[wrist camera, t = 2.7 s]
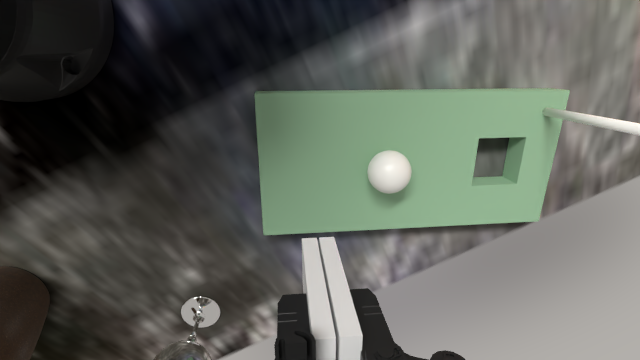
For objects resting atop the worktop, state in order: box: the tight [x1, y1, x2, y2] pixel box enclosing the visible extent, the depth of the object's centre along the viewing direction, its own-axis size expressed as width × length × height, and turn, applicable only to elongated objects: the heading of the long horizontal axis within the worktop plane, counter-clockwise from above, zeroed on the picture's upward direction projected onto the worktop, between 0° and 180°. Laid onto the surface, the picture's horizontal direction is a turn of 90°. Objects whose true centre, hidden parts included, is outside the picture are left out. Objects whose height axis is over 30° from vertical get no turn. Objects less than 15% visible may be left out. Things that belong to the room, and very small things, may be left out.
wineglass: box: [154, 296, 220, 360], centre depth 34 cm, size 6×6×12 cm
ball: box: [367, 150, 412, 194], centre depth 31 cm, size 4×4×4 cm
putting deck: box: [254, 88, 640, 235], centre depth 30 cm, size 31×14×12 cm, turn 90°
